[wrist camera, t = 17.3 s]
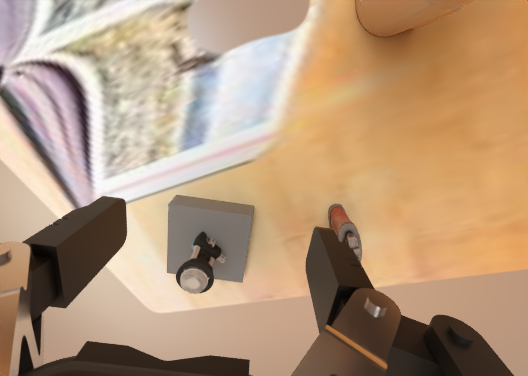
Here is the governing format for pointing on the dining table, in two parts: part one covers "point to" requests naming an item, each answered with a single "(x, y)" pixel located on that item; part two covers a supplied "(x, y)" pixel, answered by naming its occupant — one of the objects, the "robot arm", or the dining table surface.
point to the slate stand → (209, 233)
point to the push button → (199, 265)
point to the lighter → (345, 229)
